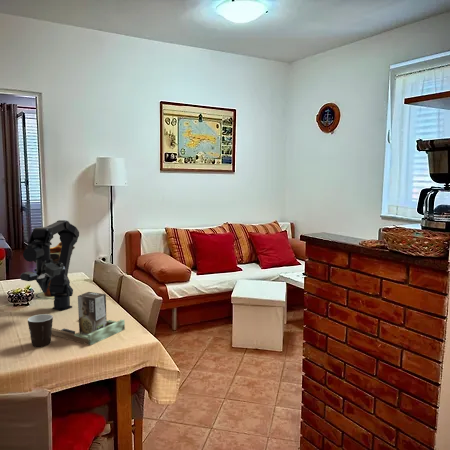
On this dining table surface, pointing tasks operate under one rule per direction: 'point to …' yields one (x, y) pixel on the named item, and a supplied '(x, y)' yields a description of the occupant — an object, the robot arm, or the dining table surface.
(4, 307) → the dining table surface
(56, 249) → the decorative vase
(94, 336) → the rectangular frame
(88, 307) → the coffee box
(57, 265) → the robot arm
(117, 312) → the dining table surface
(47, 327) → the coffee mug
